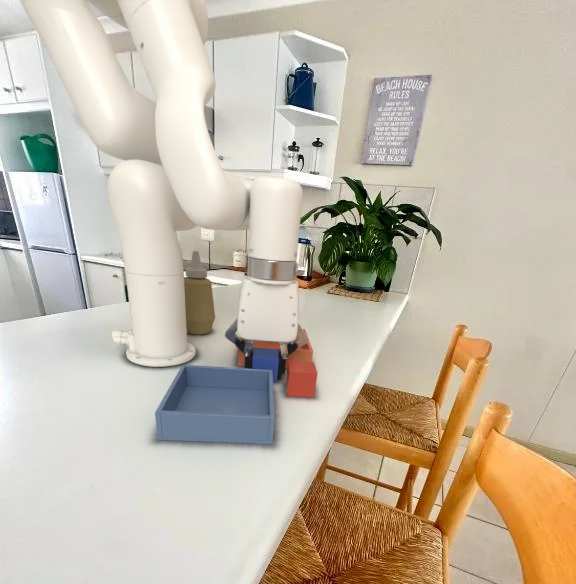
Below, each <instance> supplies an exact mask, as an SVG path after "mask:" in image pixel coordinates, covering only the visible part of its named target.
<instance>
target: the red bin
mask: <svg viewBox="0 0 576 584" xmlns="http://www.w3.org/2000/svg"><path fill="white" fill-rule="evenodd" d="M302 330H303V331H304V333H305V335H306V336H307V338H308V343H306V344H304V345H303V346H301V347H299V348H297V350H295V351H294V352H293V353H292V354H290V355H289V356H288V358H287V359H286V365H285V370H287V364H288V361H301V362H313V354H314V350H313V347H312V345H311V341H310V339H309V336H308V334H307V331H306V329H305V328H302ZM297 338H298V336H297V337H296V339H297ZM243 340H244V341H245V342H246V340H245V339H243ZM289 343H290V342H289ZM289 343H287V345H288V344H289ZM253 348H261V349H276V350H278V354H279V351H280V344H279V342H265V341H254V344H253V347H252V352H253ZM237 366H238V367H245V356H244V355H243V353H242V351H241V350H240V349H239V348H238V347H237Z"/></svg>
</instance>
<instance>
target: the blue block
mask: <svg viewBox="0 0 576 584" xmlns="http://www.w3.org/2000/svg"><path fill="white" fill-rule="evenodd" d="M278 364H279V355H278V350H276V349H261V348H253V360H252V369H263V370H272V371H273V383H277V382H278V378H277V376H278Z"/></svg>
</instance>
